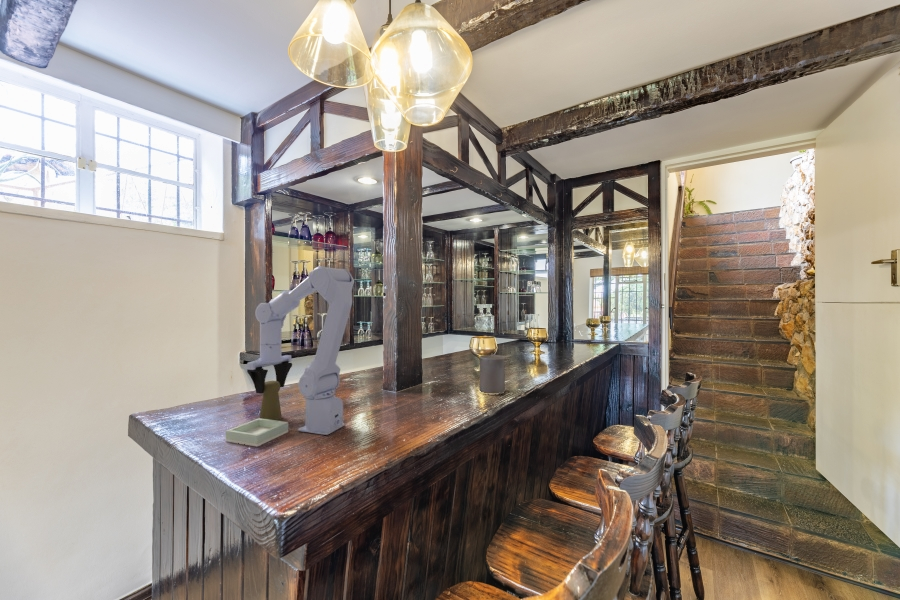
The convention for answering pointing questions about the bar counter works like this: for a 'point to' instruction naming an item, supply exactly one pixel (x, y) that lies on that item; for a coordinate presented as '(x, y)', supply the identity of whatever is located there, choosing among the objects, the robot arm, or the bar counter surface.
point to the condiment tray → (256, 432)
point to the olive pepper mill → (271, 401)
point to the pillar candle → (492, 373)
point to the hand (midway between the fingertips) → (270, 389)
